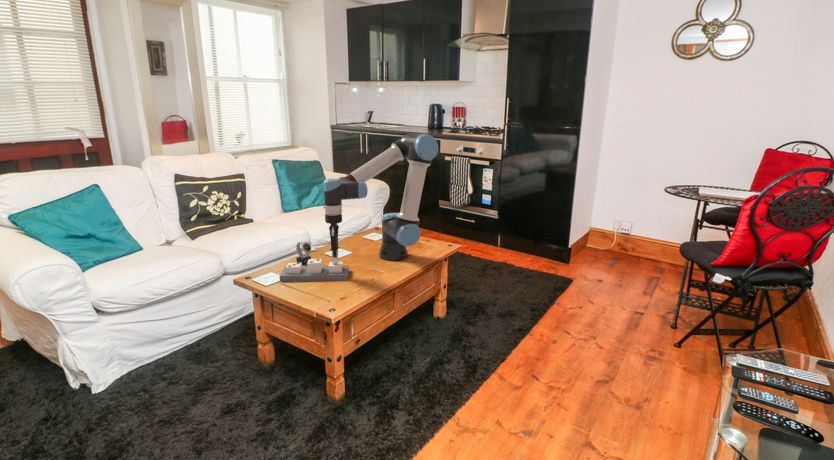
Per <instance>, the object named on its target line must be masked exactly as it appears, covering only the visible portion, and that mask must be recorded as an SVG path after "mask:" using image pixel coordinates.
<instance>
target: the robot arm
mask: <svg viewBox="0 0 834 460" xmlns="http://www.w3.org/2000/svg"><path fill="white" fill-rule="evenodd" d="M438 152H439V144H438V141H437V139H436V138H435V137H433V136H432V135H430V134H426V133H419V132H410V133H407V134H405V135H404V136H402V137H400V138H399V139H396V141H394V142H392V143H391V146H390V147H388V148H387V149H386V150H384V151H383V152H381V153H379V154H378V155H377V156H374V158H372V159H370V160H369V161H368V162H366V163H364V164H363V165H361V166H359V167H358V168H357V169H355V170H353V171H352V172H350V173H349V174H347V175H345V176H341V177H338V178H327V179H324V181H323V198H324V200H323V201H324V205H323V209H324V221H325V223H326V224H329V227H328V230H329V236H330V237H329V238H330V249H329V250H330V251H331V262H332V264H338V262H339V249H340V246H339V228H340V225H338V224H340V223H342V222H343V215H342V213H343V205H342V204H343V203H342V202H343V201H344V200H356V199H357V200H358V199H359V200H360V199H365V198H366V197H367V196H368V185H367V182H369V180H372V179H373V178H374V177H376V176H377V175H379V174H380V173H382V172H384V171H385V170H387V169H388V168H389V167H391V166H393V165H394V164H395V163H397V162H399V161H404V160H406V159H407V162H408V164H409V165H408V170H407V175H406V180H405V184H404V185H405V186H404V189H403V190H404V191H403V196H402V200H401V206H400V211H399V212H388V213H387V212H386V213H384V214H382V215H381V216H382V217H381V236H382V237H381V239H382V240H381V246H380V248H379V252H378V257H379V258H380V259H381V260H386V261H401V259H402V260H404V258H405V259H407V258H408V257H407V256H409V255H408V254H409V251H408V249H407V247H411V246H414V245H415V244H416V243H418V241H419V240H420V238H421V233H422V232H421V229H420V227H419V224H420V218H419V217H418V213H419V209H420V203H421V198H422V193H423V189H424V185H425V180H426V173H427V169H428V167H430V166H431V165H432V160H433V159H434V158H436V156H437V155H438ZM406 257H407V258H406Z"/></svg>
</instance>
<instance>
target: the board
mask: <svg viewBox="0 0 834 460" xmlns="http://www.w3.org/2000/svg"><path fill="white" fill-rule="evenodd" d="M328 266H329V265H322V267H323V269H322V272H321V273H309V274H308V271H307V265H306V266H305V265H302V272H301V274H286V266H284V268H283V269H282V271H281V272H280V274H279V282H305V281H307V282H308V281H309V282H310V281H311V282H312V281H313V282H314V281H347V280H348V278H349V273H350V272H349V271H350V266H349V265H343V273H329V269H328Z"/></svg>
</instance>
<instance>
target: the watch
mask: <svg viewBox="0 0 834 460" xmlns="http://www.w3.org/2000/svg"><path fill="white" fill-rule="evenodd" d="M295 249H296V252H297V255H298V257H296V263H302V266H305V265H307V262H308V260H309V259H312V257H311V252H312V245H311V244H310V243H309V242H307V241H304V240H303V241H299V242H297V244H296V246H295ZM303 252H304V254H303Z"/></svg>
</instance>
